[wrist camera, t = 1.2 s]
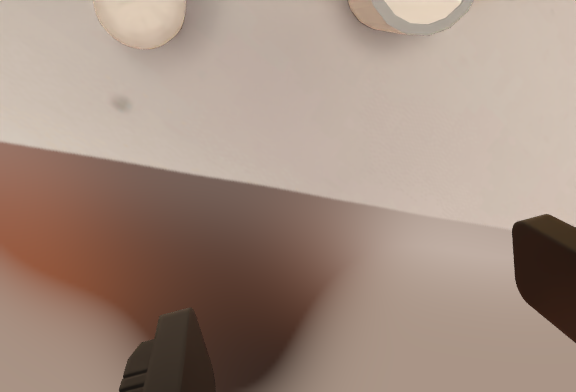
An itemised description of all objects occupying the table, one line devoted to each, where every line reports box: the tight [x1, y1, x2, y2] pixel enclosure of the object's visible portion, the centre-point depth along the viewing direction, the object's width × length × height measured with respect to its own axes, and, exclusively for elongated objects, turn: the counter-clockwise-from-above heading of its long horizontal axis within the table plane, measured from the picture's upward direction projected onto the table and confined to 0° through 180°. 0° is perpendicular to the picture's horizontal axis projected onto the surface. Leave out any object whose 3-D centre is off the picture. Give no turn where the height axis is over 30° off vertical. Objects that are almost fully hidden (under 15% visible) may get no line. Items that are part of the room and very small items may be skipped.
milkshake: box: [93, 0, 186, 49], centre depth 27 cm, size 4×5×10 cm
